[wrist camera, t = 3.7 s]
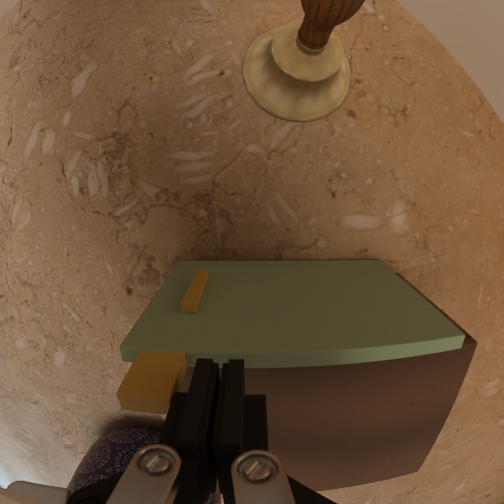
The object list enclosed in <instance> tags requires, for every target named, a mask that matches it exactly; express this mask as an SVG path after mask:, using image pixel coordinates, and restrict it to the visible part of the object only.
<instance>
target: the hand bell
mask: <svg viewBox="0 0 504 504" xmlns="http://www.w3.org/2000/svg"><path fill="white" fill-rule="evenodd" d="M364 2H365V0H301V4H302V7H303V10H304V13H305V17H304V19H303V20H295V21H291V22H289V23H287V24H285V25H283V26H278V27H274V28H272V29H269V30H267V31H265V32H264V33H262V34H261V35H259V36H258V37H257V38H256V39H255V40H254V41H253V42H252V43H251V45H250V46H249V47H248V49H247V51H246V53H245V56H244V60H243V66H242V73H243V80H244V84H245V86H246V88H247V90H248V92H249V94H250V95H251V97H252V98H253V100H254V101H255V102H256V103H257V104H258V105H259V106H260V107H261V108H263V109H264V110H265V111H267V112H268V113H270V114H272V115H274V116H276V117H278V118H281V119H285V120H289V121H296V122H307V121H313V120H318V119H320V118H323V117H325V116H327V115H329V114H330V113H332V112H333V111H335V110H336V109H337V108H338V107H339V106H340V105H341V104H342V102H343V101H344V99H345V98H346V96H347V94H348V91H349V87H350V80H351V73H350V67H349V63H348V61H347V58H346V56H345V54H344V53H343V48H342V45H341V42H340V40H339V38H338V37H337V35H336V34H335V33H334V32H333V31H332V30H333V28H334V27H335V26H336V25H339V24H341V23H343V22H345V21H346V20H348V19H349V18H351V17H352V16H353V15H354V14H355V13H356V12H357V11H358V10H359V9H360V7H361V6H362V4H363V3H364Z"/></svg>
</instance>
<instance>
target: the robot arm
mask: <svg viewBox="0 0 504 504" xmlns="http://www.w3.org/2000/svg"><path fill="white" fill-rule="evenodd" d="M217 479H218V485H219V490H220V494H223V499H224V504H337V503H335V502H333V501H331V500H329V499H328V498H326V497H324V496H322V495H320V494H319V493H317V492H315V491H313V490H312V489H310V488H308V487H307V486H305V485H303V484H301V483H300V482H298V481H297V480H295V479H293V478H292V477H290V476H288V475H287V474H286V471H285V468H284V464H283V462H282V461H281V459H280V458H279V457H278V456H277V455H276V454H274V453H271V452H269V446H268V426H267V406H266V394H245V367H244V359H229V361H228V363H223V365H222V372H221V379H220V372H219V363H213V359H207V358H197V360H196V364H195V367H194V371H193V375H192V378H191V382H190V386H189V389H188V393H187V392H175V393H174V395H173V397H172V401H171V404H170V407H169V410H168V413H167V416H166V419H165V423H164V426H163V429H162V432H161V435H160V439H159V442H158V444H151V445H148V446H145V447H143V448H141V449H139V450H138V451H137V452H136V453H135V455H134V456H133V458H132V459H131V461H130V463H129V465H128V466H127V468H126V470H124V471H122V472H120V473H117V474H115V475H113V476H110V477H108V478H105V479H103V480H100V481H98V482H96V483H93V484H90V485H88V486H85V487H83V488H80V489H78V490H76V491H74V492H72V491H70V490H69V489H68V488H61V487H54V486H47V485H42V484H36V483H31V482H26V481H15V482H12V483H11V484H10V485H9V486H8V488H7V489H4V488H0V504H204V501H209V496H210V493H216V486H217Z"/></svg>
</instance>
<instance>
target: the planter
mask: <svg viewBox="0 0 504 504" xmlns="http://www.w3.org/2000/svg"><path fill="white" fill-rule="evenodd" d="M160 435H161V431H157V430H152V429H146V428H125V429H119V430H116V431H112V432H110V433H107V434H106V435H104V436H102V437H100V438H99V439H98V440H97V441H96V442H95V443H94V444H93V445H92V446H91V447H90V448H89V450H88V451H87V453H86V454H85V456H84V457H83V459H82V461H81V462H80V464H79V466H78V467H77V469H76V471H75V473H74V475H73V477H72V479H71V481H70V483H69V485H68V487H67V488H68V489H69V490H70V491H72V492H74V491H76V490H78V489H80V488H83V487H85V486H88V485H90V484H93V483H96V482H98V481H100V480H103V479H105V478H108V477H110V476H113V475H115V474H117V473H120V472H122V471H124V470H126V468H127V466H128V465H129V463H130V461H131V459H132V458H133V456H134V455H135V453H136V452H137V451H138V450H139V449H141V448H143V447H145V446H148V445H151V444H158V442H159V439H160ZM204 504H221V494H214V493H210V496H209V501H204Z"/></svg>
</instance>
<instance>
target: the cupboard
mask: <svg viewBox="0 0 504 504" xmlns="http://www.w3.org/2000/svg"><path fill="white" fill-rule="evenodd" d="M395 274H396V275H397V276H399V277H400V278H401V279H402V280H403V281H405V282H406V283H407V284H408V285H409V286H411V287H412V288H413V289H414V290H415V291H416V292H418V293H419V294H420V295H421V296H422V297H423V298H425V299H426V300H427V301H428V302H429V303H430V304H431V305H433V306H434V307H435V308H436V309H437V310H438V311H439V312H441V313H442V314H443V315H444V316H445V317H446V318H447V319H448V320H449V321H451V322H452V323H453V324H454V325H455V326H456V327H457V328H458V329H459V330H460V331H462V332H463V333H464V334H465V339H464V342H463V345H462V348H460V349H455V350H450V351H444V352H438V353H432V354H426V355H420V356H413V357H406V358H398V359H391V360H382V361H373V362H363V363H353V364H341V365H327V366H310V367H285V368H245V394H266V406H267V426H268V446H269V452H271V453H274V454H276V455H277V456H278V457H279V458H280V459H281V461H282V462H283V464H284V468H285V471H286V474H287V475H288V476H290V477H292V478H293V479H295V480H297V481H298V482H300V483H301V484H303V485H305V486H307V487H308V488H310V489H312V490H313V491H322V490H330V489H338V488H345V487H351V486H357V485H362V484H368V483H373V482H377V481H382V480H386V479H391V478H395V477H399V476H403V475H407V474H410V473H414V472H418V470H419V469H420V467H421V465H422V464H423V462H424V460H425V459H426V457H427V455H428V454H429V452H430V450H431V448H432V446H433V445H434V443H435V441H436V439H437V437H438V435H439V433H440V431H441V429H442V427H443V425H444V423H445V421H446V419H447V417H448V415H449V413H450V411H451V409H452V407H453V404H454V402H455V400H456V398H457V395H458V393H459V391H460V388H461V386H462V383H463V381H464V378H465V376H466V373H467V371H468V368H469V365H470V363H471V360H472V357H473V354H474V351H475V348H476V345H477V341H476V340H475V339H473V338H472V337H471V336H470V335H469V334H468V333H467V332H466V331H465V330H464V329H462V328H461V327H460V326H459V325H458V324H457V323H456V322H455V321H453V320H452V319H451V318H450V317H449V316H448V315H447V314H446V313H444V312H443V311H442V310H441V309H440V308H439V307H437V306H436V305H435V304H434V303H433V302H432V301H431V300H429V299H428V298H427V297H426V296H425V295H423V294H422V293H421V292H420V291H419V290H417V289H416V288H415V287H414V286H413V285H411V284H410V283H409V282H408V281H407V280H405V279H404V278H403V277H402V276H401V275H399V274H398V273H395ZM193 371H194V367H189V366H187V369H186V372H185V375H184V379H183V382H182V386H181V389H180V392H187V393H188V389H189V386H190V382H191V378H192V375H193ZM219 372H220V379H221V372H222V368H219ZM214 494H220V490H219V485H218V479H217V486H216V493H214Z"/></svg>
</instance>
